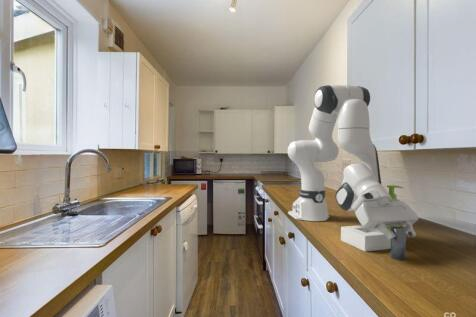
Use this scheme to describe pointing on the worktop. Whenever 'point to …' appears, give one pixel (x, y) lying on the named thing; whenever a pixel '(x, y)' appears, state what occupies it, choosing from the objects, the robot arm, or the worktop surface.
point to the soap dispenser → (391, 193)
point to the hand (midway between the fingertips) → (402, 237)
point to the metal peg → (398, 243)
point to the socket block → (365, 238)
